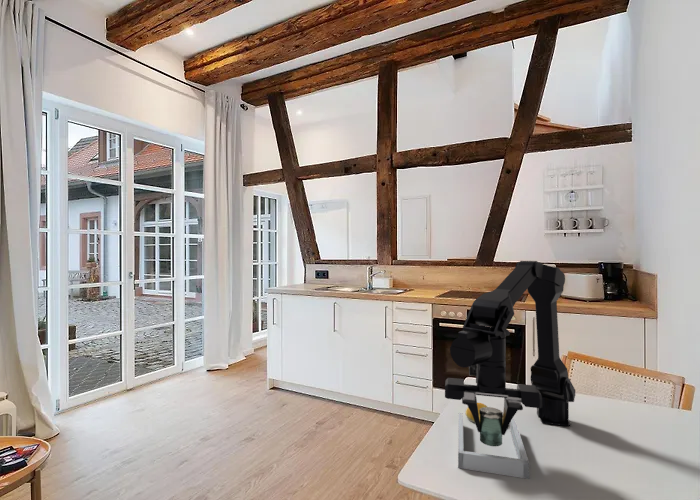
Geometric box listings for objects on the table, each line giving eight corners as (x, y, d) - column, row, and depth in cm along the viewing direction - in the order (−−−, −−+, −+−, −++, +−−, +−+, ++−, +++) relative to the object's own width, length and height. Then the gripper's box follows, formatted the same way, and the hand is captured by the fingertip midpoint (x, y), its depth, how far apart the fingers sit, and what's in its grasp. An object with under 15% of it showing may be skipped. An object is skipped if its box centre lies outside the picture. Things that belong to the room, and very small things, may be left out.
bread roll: (493, 431, 92) (493, 415, 92) (460, 419, 99) (460, 404, 99) (509, 422, 98) (509, 406, 98) (477, 411, 105) (477, 396, 105)
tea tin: (503, 448, 77) (503, 417, 78) (480, 444, 79) (480, 414, 79) (501, 437, 82) (501, 408, 82) (478, 434, 83) (478, 406, 83)
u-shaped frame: (514, 431, 92) (514, 419, 92) (529, 478, 73) (529, 462, 73) (458, 424, 95) (458, 412, 95) (458, 467, 76) (458, 452, 76)
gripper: (532, 352, 86) (532, 422, 85) (446, 346, 91) (446, 412, 91) (542, 366, 75) (542, 446, 75) (444, 358, 80) (444, 433, 80)
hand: (491, 432), depth 80 cm, fingers closed on tea tin, 4 cm apart
